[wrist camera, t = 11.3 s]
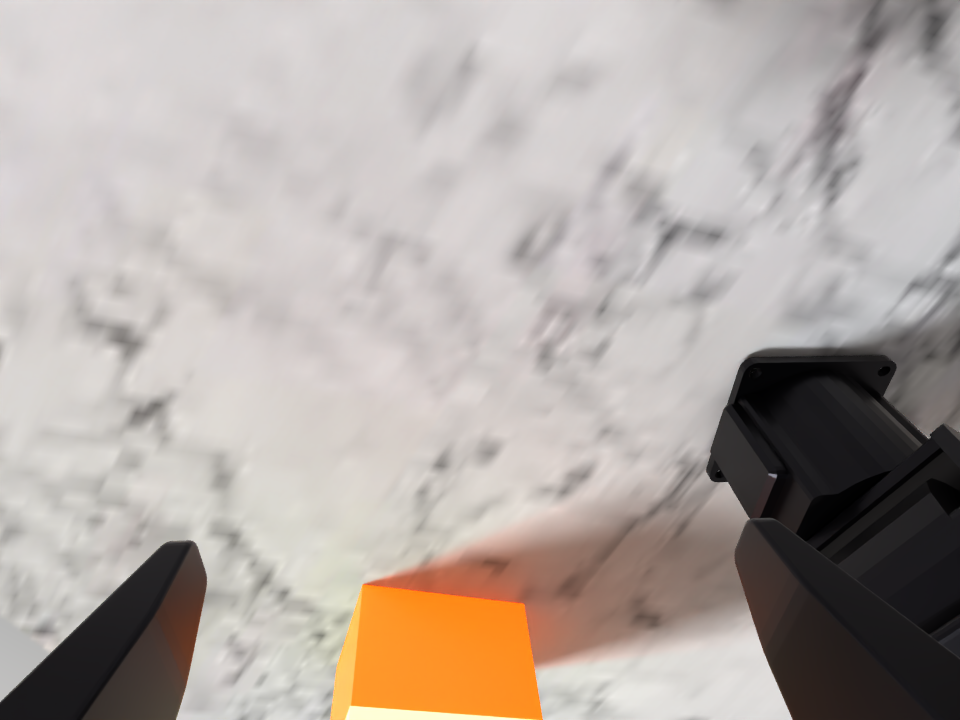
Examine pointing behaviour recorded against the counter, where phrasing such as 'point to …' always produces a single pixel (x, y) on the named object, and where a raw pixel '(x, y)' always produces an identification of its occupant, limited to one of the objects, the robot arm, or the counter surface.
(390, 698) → the orange juice
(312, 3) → the counter surface
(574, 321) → the counter surface
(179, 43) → the counter surface
